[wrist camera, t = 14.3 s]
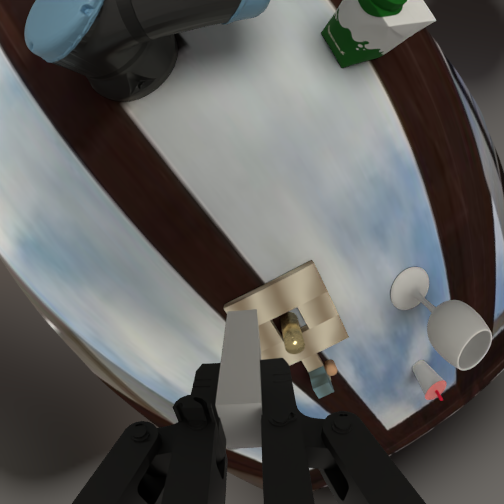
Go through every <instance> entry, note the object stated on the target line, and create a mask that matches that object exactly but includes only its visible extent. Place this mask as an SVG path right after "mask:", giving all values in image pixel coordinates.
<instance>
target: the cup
mask: <svg viewBox="0 0 504 504" xmlns="http://www.w3.org/2000/svg"><path fill="white" fill-rule="evenodd" d="M413 372H414V374H415V376H416V378H417V380H418V382H419V384H420V386H421V388H422V391H423V393H424V395H425V398H426V399H427V400H432V399H434V398H436V397H438V398H439V399H440V401H442V400H443V399H442V397H441V395H440V394H441V393H442V392H443V391H444V389H445V388H446V381H444V380H443V379H442V378H441V377H440V376H439V375H438V374H437V373H436V372H435V371H434V370H433V369H432V368H431V367H430V366H429V365H428V364H427V363H426V362H425V361H424V360H420V361H418V362H416V363H415V364H414V366H413Z"/></svg>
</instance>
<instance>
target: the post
mask: <svg viewBox="0 0 504 504" xmlns="http://www.w3.org/2000/svg"><path fill="white" fill-rule="evenodd" d="M280 323H281V328H282V334H283V339H284V345H285V349H286V351H287V352H288V353H290V354H298V353H300V352H302V351H303V350H304V348H305V342H304V339H303V335H302V332H301V328H300V325H299V322H298V318H297V316H296V314H294V313H292V312H287V313H285V314H283V315H282V316H281V318H280Z"/></svg>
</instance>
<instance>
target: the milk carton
mask: <svg viewBox="0 0 504 504" xmlns="http://www.w3.org/2000/svg"><path fill="white" fill-rule="evenodd" d="M434 21H436V20H435V18H434V16H433V15H432V13H431V12H430V10H429V8H428V7H427V5H426V4H425V2H424V1H423V0H343V1H342V2H341V4H340V6H339V7H338V9H337V10H336V12H335V14H334V15H333V17H332V18H331V20H330V21H329V22H328V24H327V25H326V27H325V28H324V30H323V31H322V32H321V34H322V36H323V37H324V39H325V41H326V42H327V44H328V45H329V47H330V49H331V50H332V52H333V54H334V56H335V57H336V59H337V61H338V63H339V64H340V66H341V68H344V67H347V66H350V65H354V64H357V63H361V62H364V61H368V60H372V59H376V58H378V57H381V56H382V55H384V54H386V53H387V52H388V51H390V50H391V49H393V48H394V47H396V46H397V45H398V44H400V43H401V42H403V41H404V40H406V39H407V38H408V37H410V36H412V35H413V34H414V33H416V32H417V31H419V30H421V29H422V28H424V27H426V26H427V25H429V24H431V23H433V22H434Z"/></svg>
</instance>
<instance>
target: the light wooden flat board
mask: <svg viewBox="0 0 504 504" xmlns="http://www.w3.org/2000/svg"><path fill="white" fill-rule="evenodd" d="M296 307H298V309H299V311H300V313H301V315H302V316H303V318H304V320H305V322H306V324H307V325H306V326H304V327H302V328H301V332H302V335H303V339H304V342H305V348H304V350H303V351H302V352H300V353H298V354H290V353H288V352H287V351H286V349H285V345H284V339H283V337H282V335H281V334H280V332H279V331H278V329H277V327H276V326H275V324H274V322H273V321H272V319H274V318H276V317H278V316H280V315H282V314H284V313H286V312H288V311H290V310H292V309H294V308H296ZM252 309H257V317H258V327H259V336H260V346H261V359H262V360H263V359H274V358H284V359H285V361H286V362H287V363H288V364H289V366H290V365H292V364H294V363H296V362H299V361H302V362H303V364H304V366H305V367H306V369H307V370H308V372H309V376H310V380H311V384H312V387H313V390H314V392H315V393H316V395H317V396H318V398H321V397H324V396H326V395H328V394H330V393H332V392H334V390H333V387H332V384H331V381H330V380H331V378H330V376H329V375H328V374H327V372H326V369H325V366H324V364H323V362H322V361H321V359H320V357H319V355H318V352H320V351H322V350H324V349H326V348H328V347H330V346H332V345H334V344H336V343H338V342H340V341H342V340H344V339H346V338H348V337H349V336H348V334H347V332H346V330H345V327H344V325H343V323H342V321H341V319H340V317H339V314H338V312H337V310H336V308H335V306H334V304H333V302H332V299H331V297H330V295H329V293H328V291H327V289H326V287H325V285H324V283H323V281H322V279H321V277H320V274H319V272H318V270H317V268H316V266H315V264H314V262H313V261H312V260H311V261H309V262H307V263H305V264H303V265H301V266H299V267H297V268H295V269H294V270H292V271H290V272H288V273H286V274H284V275H282V276H280V277H278V278H276V279H274V280H272V281H270V282H268V283H266V284H264V285H262V286H260V287H258V288H256V289H254V290H252V291H250V292H248V293H246V294H244V295H242V296H240V297H238V298H236V299H234V300H232V301H230V302H228V303H226V304H224V310H225V312H226V313H227V312H228V311H241V310H252Z"/></svg>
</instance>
